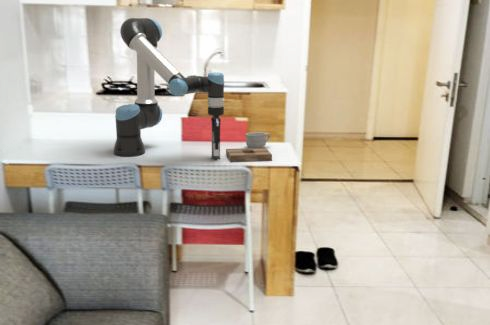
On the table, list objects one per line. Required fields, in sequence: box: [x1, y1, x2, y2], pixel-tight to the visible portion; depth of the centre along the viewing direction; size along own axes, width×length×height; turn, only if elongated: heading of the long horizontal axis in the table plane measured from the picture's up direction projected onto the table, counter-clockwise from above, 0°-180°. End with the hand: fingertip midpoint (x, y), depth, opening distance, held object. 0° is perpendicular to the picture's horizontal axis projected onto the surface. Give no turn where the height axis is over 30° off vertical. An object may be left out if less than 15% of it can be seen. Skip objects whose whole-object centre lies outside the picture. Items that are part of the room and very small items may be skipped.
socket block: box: [225, 147, 273, 163], centre depth 257 cm, size 14×20×3 cm
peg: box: [211, 131, 221, 161], centre depth 253 cm, size 4×4×13 cm
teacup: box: [245, 131, 271, 148], centre depth 276 cm, size 14×11×8 cm
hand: (215, 154), depth 254 cm, fingers closed on peg, 4 cm apart
